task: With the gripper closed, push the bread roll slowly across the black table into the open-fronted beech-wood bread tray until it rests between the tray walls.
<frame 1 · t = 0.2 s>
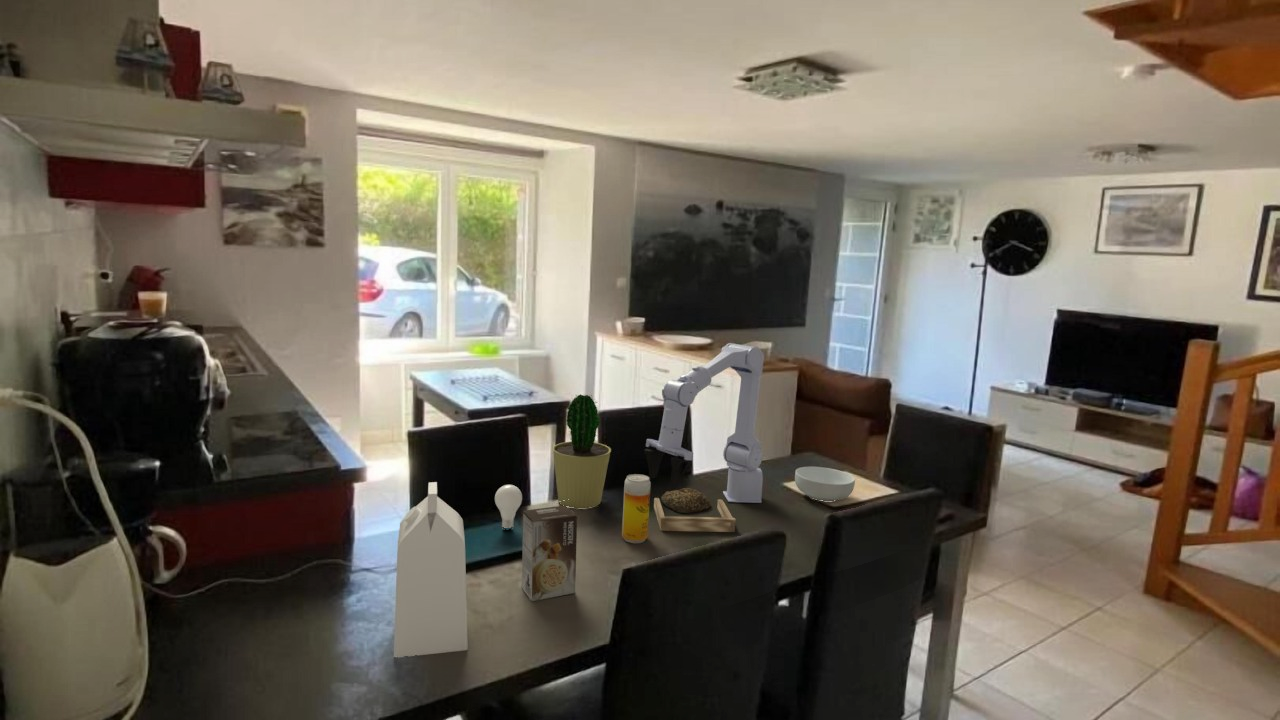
hand: (663, 481, 172), 11 cm above the table, tool pointing down, fingers open, 7 cm apart
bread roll: (686, 506, 187), on the table
milk: (431, 635, 117), on the table
cereal bowl: (822, 498, 199), on the table
beer can: (634, 539, 162), on the table
lightbulb: (507, 530, 164), on the table
tray: (692, 518, 177), on the table
potted cactus: (579, 502, 185), on the table
coffee box: (547, 591, 135), on the table
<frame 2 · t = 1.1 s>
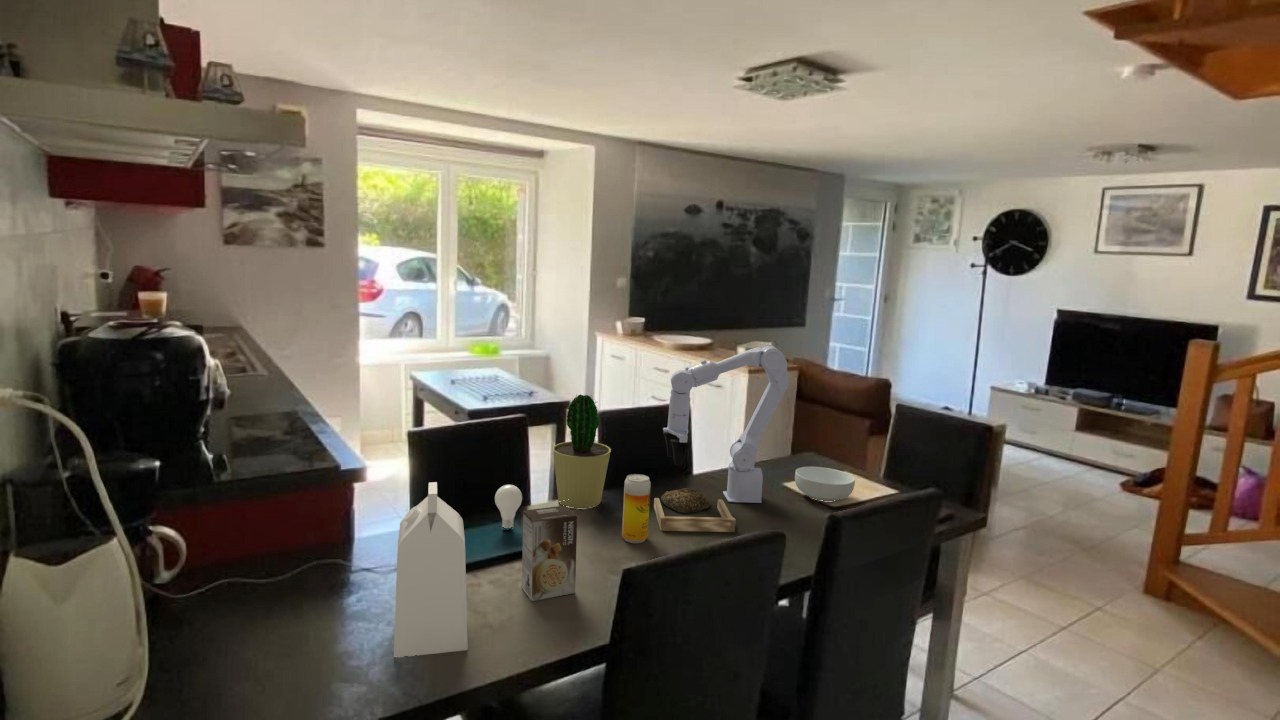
hand: (674, 460, 194), 10 cm above the table, tool pointing down, fingers open, 7 cm apart
nothing on the table moved.
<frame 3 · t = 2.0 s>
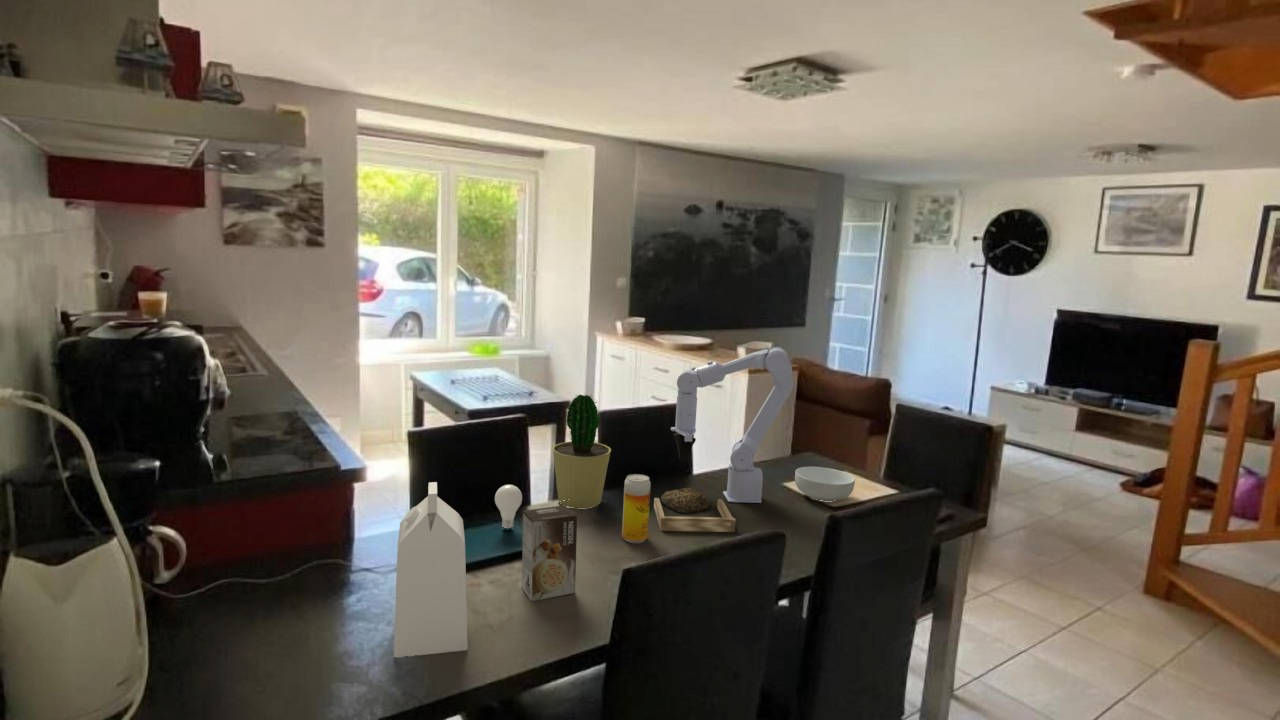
hand: (683, 459, 196), 9 cm above the table, tool pointing down, fingers closed
nothing on the table moved.
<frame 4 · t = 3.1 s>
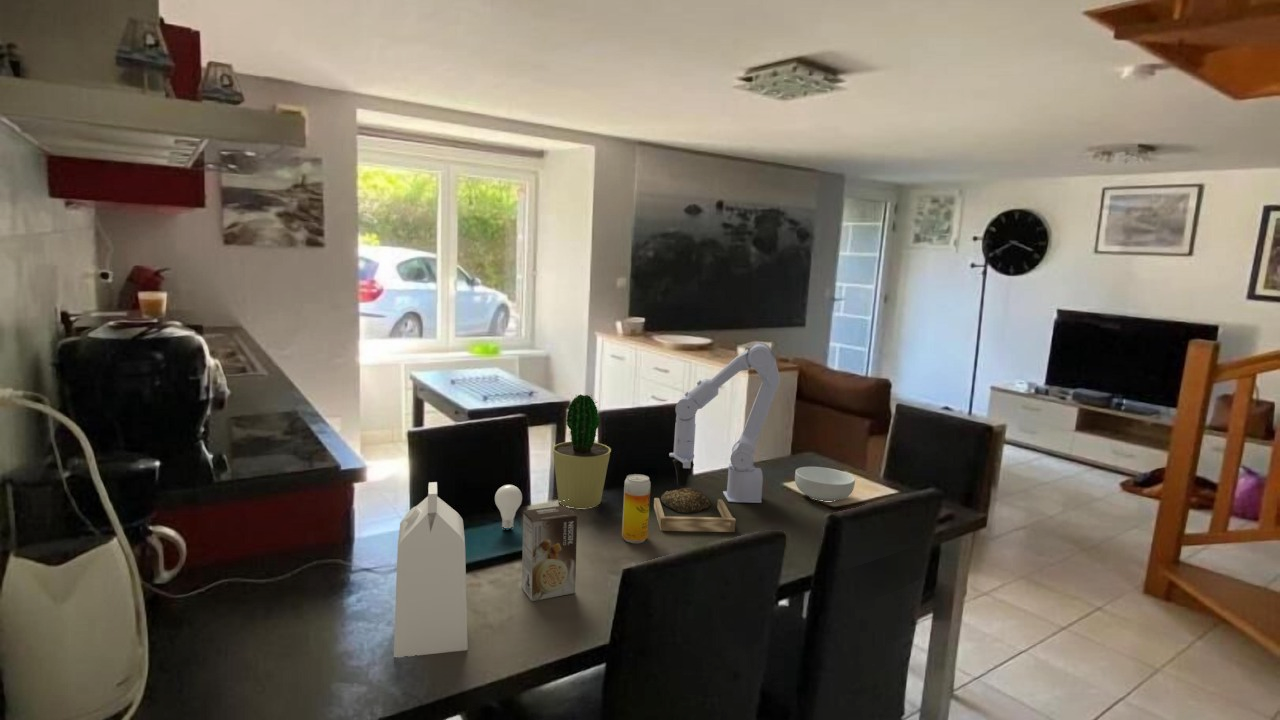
hand: (681, 485, 197), 2 cm above the table, tool pointing down, fingers closed
nothing on the table moved.
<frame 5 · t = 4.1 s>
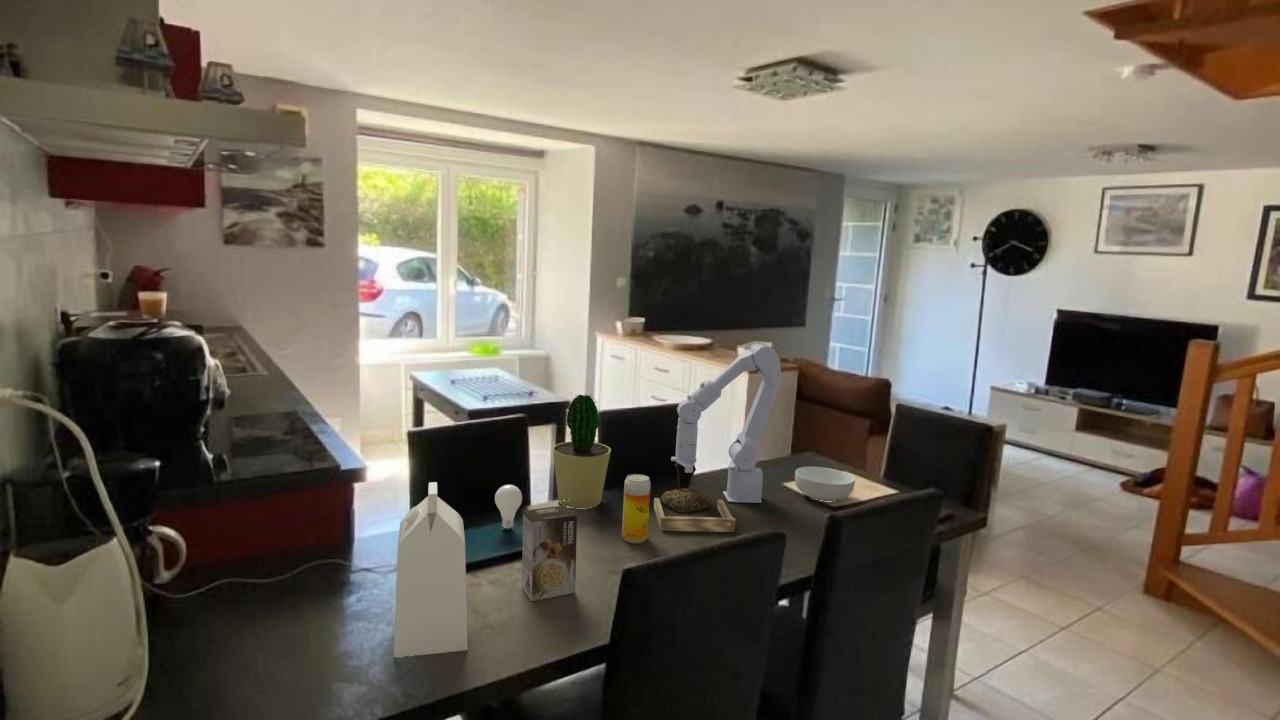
hand: (683, 489, 193), 2 cm above the table, tool pointing down, fingers closed
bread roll: (685, 505, 188), on the table, touching gripper
everything else where it was.
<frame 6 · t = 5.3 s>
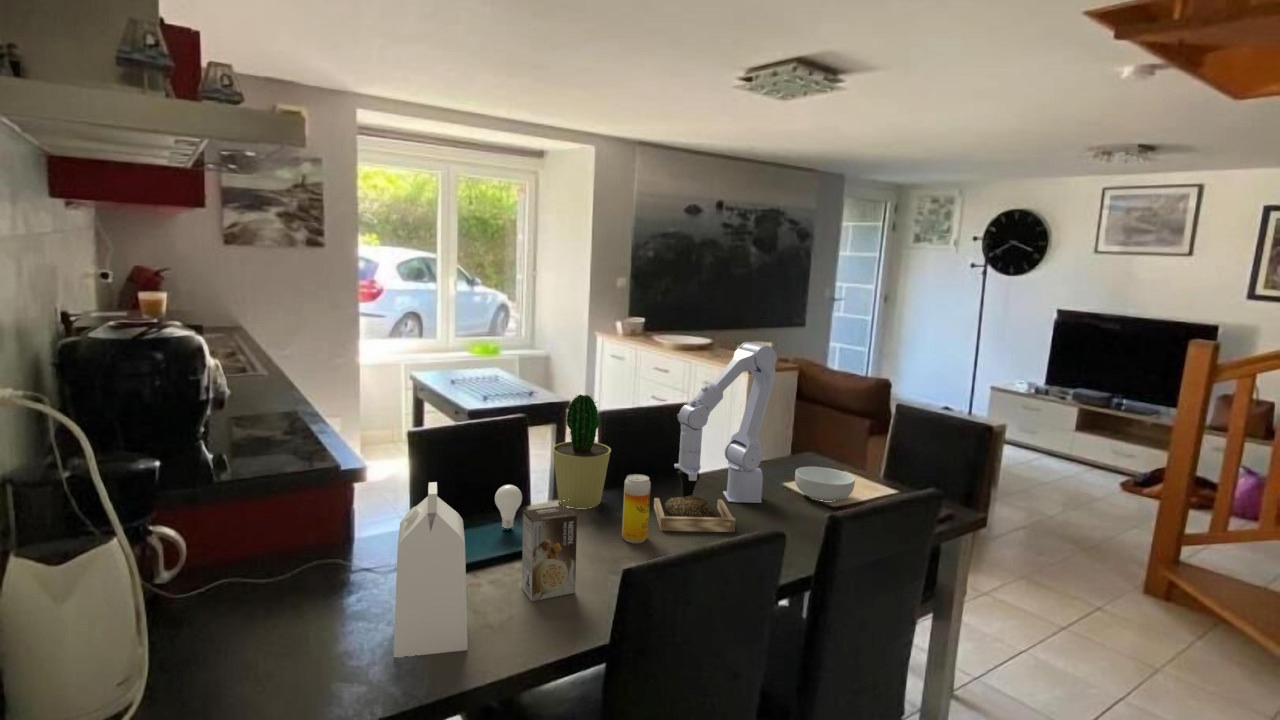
hand: (687, 498, 187), 2 cm above the table, tool pointing down, fingers closed
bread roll: (689, 514, 181), on the table, touching gripper
everything else where it was.
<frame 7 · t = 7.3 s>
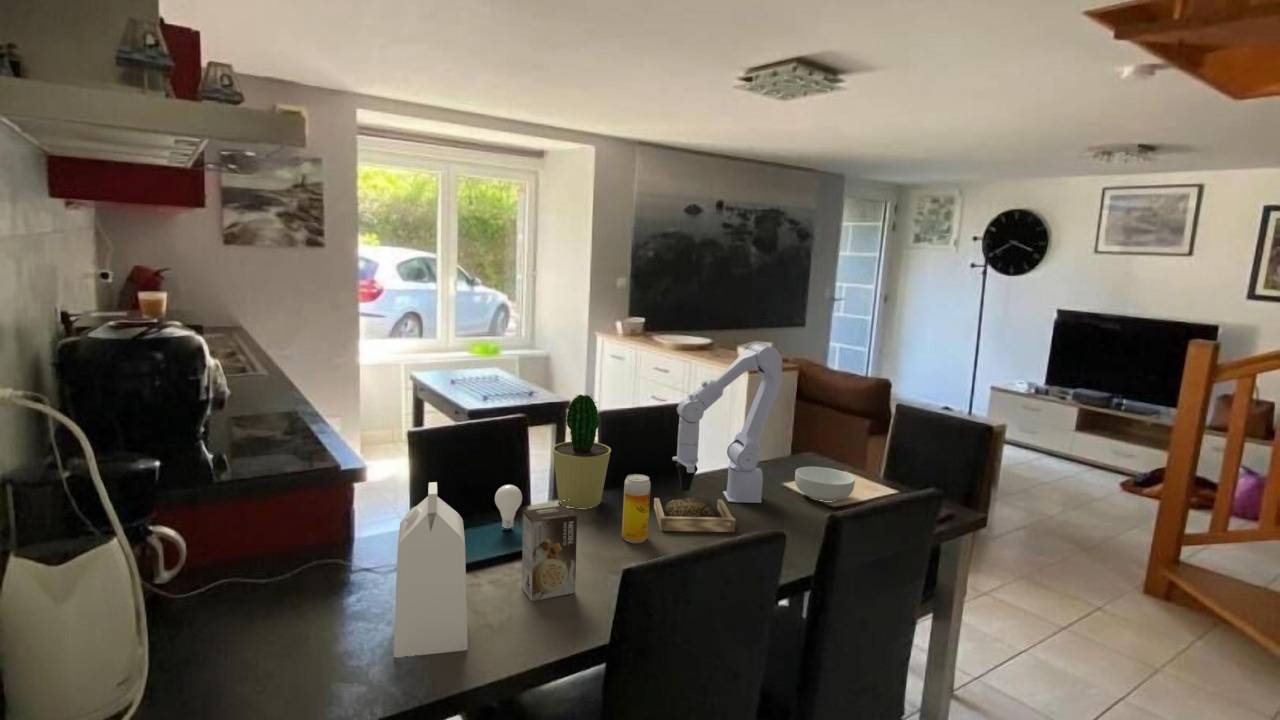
hand: (685, 489, 191), 3 cm above the table, tool pointing down, fingers closed
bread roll: (690, 516, 180), on the table
everything else where it was.
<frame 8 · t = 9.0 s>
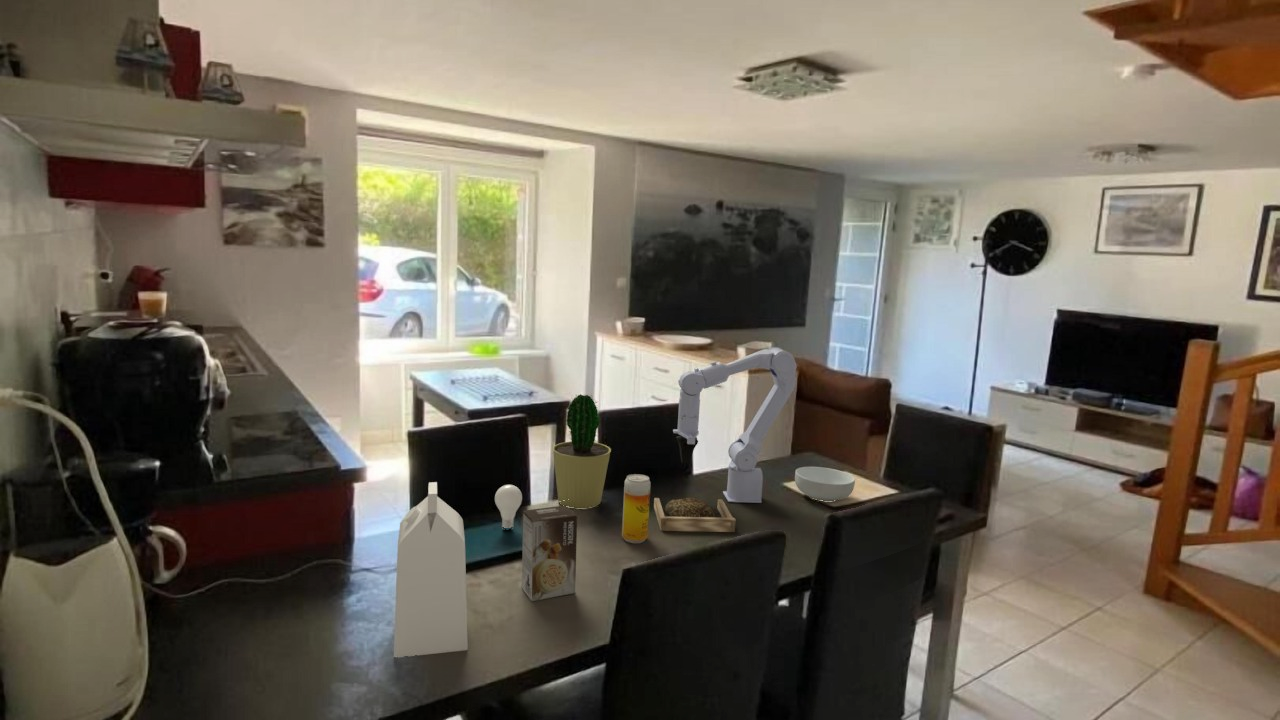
hand: (685, 462, 192), 10 cm above the table, tool pointing down, fingers closed
nothing on the table moved.
at the end: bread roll inside the target area (3.3 cm from its centre), on the table; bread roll moved 7.5 cm from its start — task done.
